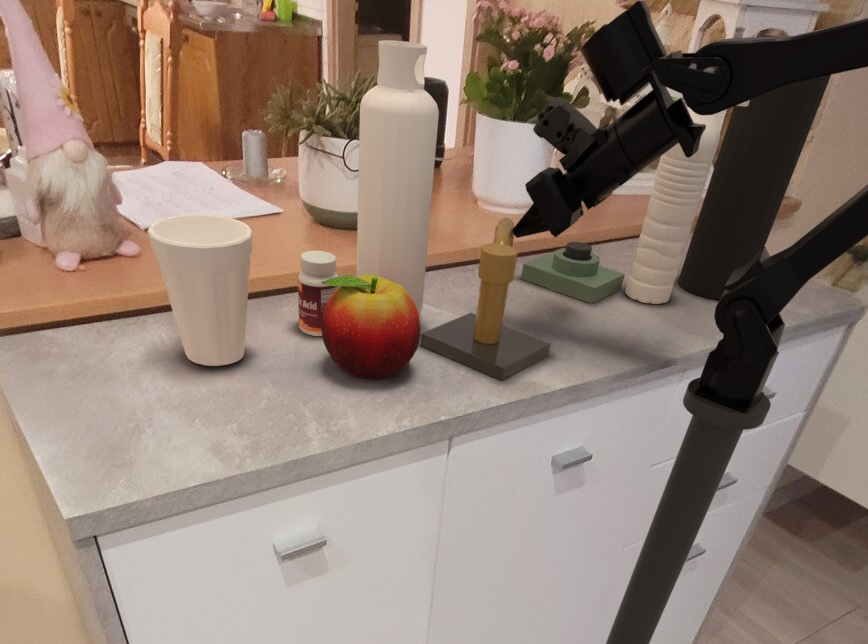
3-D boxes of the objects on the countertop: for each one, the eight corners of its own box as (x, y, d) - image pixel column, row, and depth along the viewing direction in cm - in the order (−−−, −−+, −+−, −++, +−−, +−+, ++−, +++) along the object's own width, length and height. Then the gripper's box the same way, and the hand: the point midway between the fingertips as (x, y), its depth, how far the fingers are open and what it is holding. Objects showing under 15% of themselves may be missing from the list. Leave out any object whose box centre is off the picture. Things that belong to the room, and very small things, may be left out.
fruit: (426, 389, 78) (435, 295, 71) (326, 391, 76) (325, 294, 69) (407, 346, 85) (414, 258, 78) (316, 347, 83) (314, 256, 76)
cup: (280, 354, 81) (273, 229, 72) (219, 386, 74) (203, 253, 66) (212, 330, 84) (198, 207, 75) (148, 358, 78) (124, 228, 69)
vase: (671, 273, 113) (746, 32, 93) (734, 279, 113) (823, 41, 93) (686, 297, 106) (772, 41, 85) (754, 304, 106) (855, 50, 85)
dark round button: (593, 259, 104) (596, 246, 102) (581, 264, 101) (584, 251, 100) (572, 252, 105) (574, 239, 104) (559, 257, 103) (562, 244, 102)
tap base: (548, 355, 87) (563, 284, 81) (501, 380, 81) (514, 305, 75) (469, 324, 92) (478, 254, 86) (420, 345, 86) (426, 272, 80)
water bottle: (616, 294, 104) (671, 85, 87) (637, 284, 108) (695, 82, 91) (670, 313, 100) (739, 98, 83) (690, 302, 104) (760, 95, 87)
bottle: (407, 346, 85) (429, 53, 66) (345, 332, 87) (348, 41, 68) (429, 322, 91) (454, 46, 72) (369, 309, 93) (379, 35, 73)
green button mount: (621, 289, 106) (628, 260, 103) (591, 304, 100) (598, 274, 98) (552, 266, 111) (558, 238, 108) (520, 279, 106) (525, 250, 103)
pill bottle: (291, 326, 87) (288, 253, 81) (321, 318, 89) (321, 246, 84) (315, 340, 84) (314, 266, 79) (346, 331, 87) (347, 258, 81)
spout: (511, 290, 79) (517, 257, 77) (475, 285, 79) (480, 252, 77) (518, 246, 91) (523, 217, 88) (487, 242, 91) (491, 212, 89)
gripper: (614, 64, 81) (507, 157, 91) (564, 79, 68) (446, 186, 79) (661, 157, 84) (552, 237, 94) (621, 189, 71) (501, 277, 82)
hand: (515, 233), depth 87 cm, fingers closed
